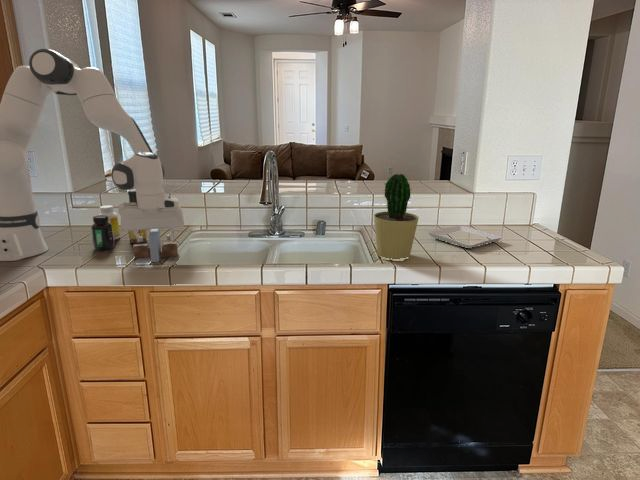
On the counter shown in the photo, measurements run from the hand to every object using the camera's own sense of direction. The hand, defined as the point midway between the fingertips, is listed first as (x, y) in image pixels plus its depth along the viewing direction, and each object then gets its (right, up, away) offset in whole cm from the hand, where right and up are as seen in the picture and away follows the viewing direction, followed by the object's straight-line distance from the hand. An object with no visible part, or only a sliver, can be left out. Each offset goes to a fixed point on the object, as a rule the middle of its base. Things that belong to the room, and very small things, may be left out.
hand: (155, 241), depth 149 cm
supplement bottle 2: (-22, -3, +10) cm, 24 cm away
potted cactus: (+83, -6, +6) cm, 83 cm away
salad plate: (+115, -1, +25) cm, 117 cm away
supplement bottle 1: (-26, +1, +22) cm, 34 cm away
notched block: (0, -5, +2) cm, 6 cm away
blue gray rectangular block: (0, -5, +2) cm, 6 cm away
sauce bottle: (-13, -1, +18) cm, 22 cm away
